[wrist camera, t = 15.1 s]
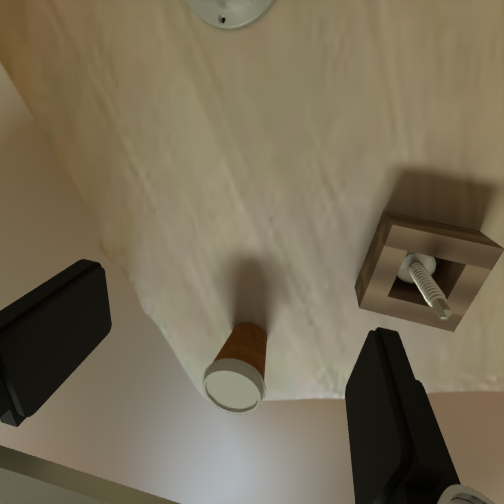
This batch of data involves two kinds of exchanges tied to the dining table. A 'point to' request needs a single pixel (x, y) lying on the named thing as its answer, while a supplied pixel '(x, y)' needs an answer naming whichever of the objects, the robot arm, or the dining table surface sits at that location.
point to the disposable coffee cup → (238, 371)
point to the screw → (425, 281)
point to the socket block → (445, 276)
